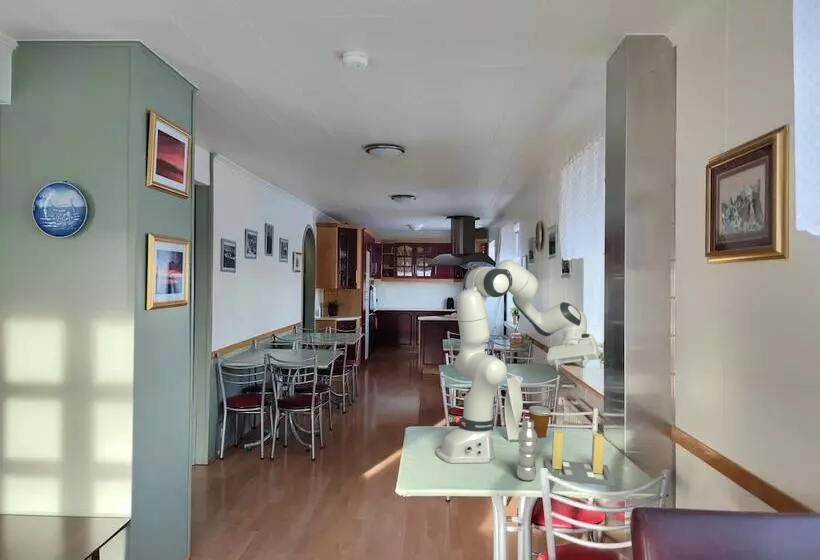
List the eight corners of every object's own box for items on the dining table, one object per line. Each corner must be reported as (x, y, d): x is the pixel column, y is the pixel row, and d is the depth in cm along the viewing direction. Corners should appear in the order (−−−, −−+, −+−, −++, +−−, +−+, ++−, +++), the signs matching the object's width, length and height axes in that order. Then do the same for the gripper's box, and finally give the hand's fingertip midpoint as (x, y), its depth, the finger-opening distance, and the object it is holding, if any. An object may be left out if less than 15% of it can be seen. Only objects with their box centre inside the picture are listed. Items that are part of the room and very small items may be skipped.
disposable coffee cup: (541, 440, 225) (542, 412, 224) (522, 434, 232) (524, 407, 231) (554, 436, 231) (555, 408, 231) (535, 431, 238) (536, 404, 238)
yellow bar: (602, 473, 188) (604, 437, 188) (592, 472, 189) (594, 436, 189) (600, 469, 192) (602, 434, 192) (591, 468, 193) (592, 433, 193)
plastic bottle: (539, 479, 181) (542, 421, 181) (529, 484, 176) (532, 424, 176) (522, 473, 186) (525, 416, 185) (512, 478, 181) (515, 420, 180)
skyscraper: (507, 442, 220) (510, 375, 219) (499, 436, 228) (502, 371, 227) (525, 441, 222) (529, 375, 221) (517, 435, 230) (520, 371, 229)
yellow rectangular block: (561, 469, 191) (563, 433, 191) (552, 468, 192) (554, 432, 191) (560, 465, 195) (562, 430, 195) (551, 464, 196) (553, 429, 195)
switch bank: (614, 486, 178) (615, 481, 178) (547, 478, 182) (547, 473, 182) (606, 469, 194) (606, 464, 194) (544, 462, 198) (544, 458, 198)
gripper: (546, 341, 219) (541, 366, 209) (596, 333, 208) (593, 359, 198) (552, 351, 222) (548, 377, 212) (601, 344, 211) (599, 370, 201)
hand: (570, 368), depth 205 cm, fingers open, 8 cm apart
